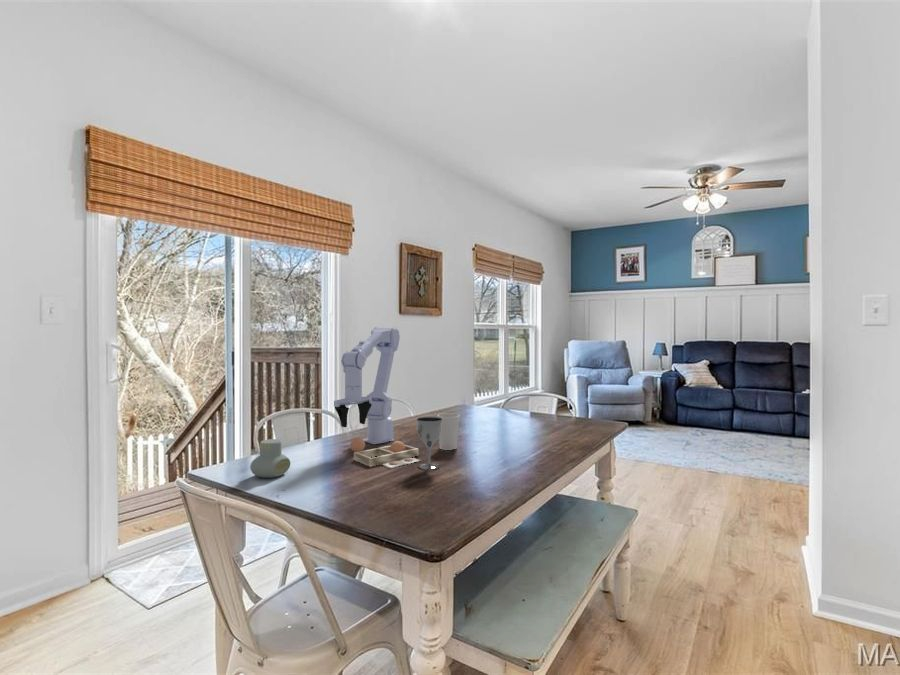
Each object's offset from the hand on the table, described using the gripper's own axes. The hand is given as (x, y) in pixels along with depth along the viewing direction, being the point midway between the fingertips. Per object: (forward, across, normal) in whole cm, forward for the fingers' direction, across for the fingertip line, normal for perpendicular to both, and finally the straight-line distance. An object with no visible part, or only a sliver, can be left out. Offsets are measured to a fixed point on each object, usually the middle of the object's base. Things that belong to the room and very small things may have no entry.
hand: (353, 425), depth 165 cm
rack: (+9, -3, +17) cm, 20 cm away
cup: (+10, -27, +20) cm, 35 cm away
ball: (+7, -8, +15) cm, 18 cm away
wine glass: (+10, -6, +32) cm, 33 cm away
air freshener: (+10, +32, +4) cm, 34 cm away
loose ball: (+7, -1, +1) cm, 7 cm away
